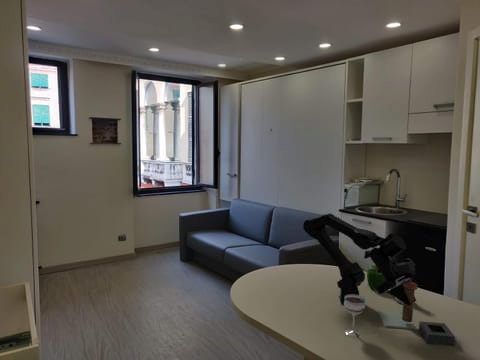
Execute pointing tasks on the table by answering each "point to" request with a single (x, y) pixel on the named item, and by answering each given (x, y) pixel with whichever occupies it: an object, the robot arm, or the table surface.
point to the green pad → (394, 320)
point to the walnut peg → (409, 291)
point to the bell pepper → (374, 277)
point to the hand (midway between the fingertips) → (412, 303)
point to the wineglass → (354, 310)
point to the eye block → (436, 333)
